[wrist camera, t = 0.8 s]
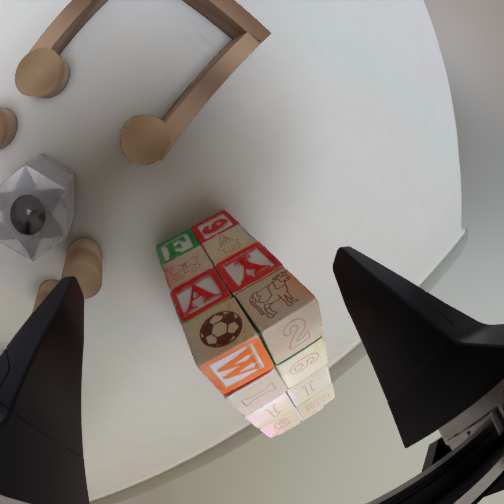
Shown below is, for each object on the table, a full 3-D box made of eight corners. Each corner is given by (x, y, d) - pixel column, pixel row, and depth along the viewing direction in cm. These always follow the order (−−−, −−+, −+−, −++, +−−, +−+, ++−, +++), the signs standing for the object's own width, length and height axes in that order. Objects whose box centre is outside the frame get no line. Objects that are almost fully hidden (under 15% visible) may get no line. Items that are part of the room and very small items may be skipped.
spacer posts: (73, 318, 20) (72, 347, 18) (-53, 251, 12) (-70, 273, 10) (181, 137, 18) (193, 142, 16) (34, 42, 10) (19, 31, 7)
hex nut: (61, 242, 18) (52, 271, 14) (-1, 208, 14) (-21, 230, 11) (91, 183, 17) (85, 200, 14) (27, 144, 14) (6, 153, 10)
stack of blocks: (284, 353, 35) (340, 427, 25) (241, 378, 34) (289, 458, 24) (224, 207, 22) (320, 298, 13) (152, 245, 21) (197, 371, 11)
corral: (156, 154, 18) (161, 160, 16) (29, 73, 11) (17, 69, 9) (254, 39, 17) (271, 33, 15) (139, -45, 10) (144, -61, 8)
